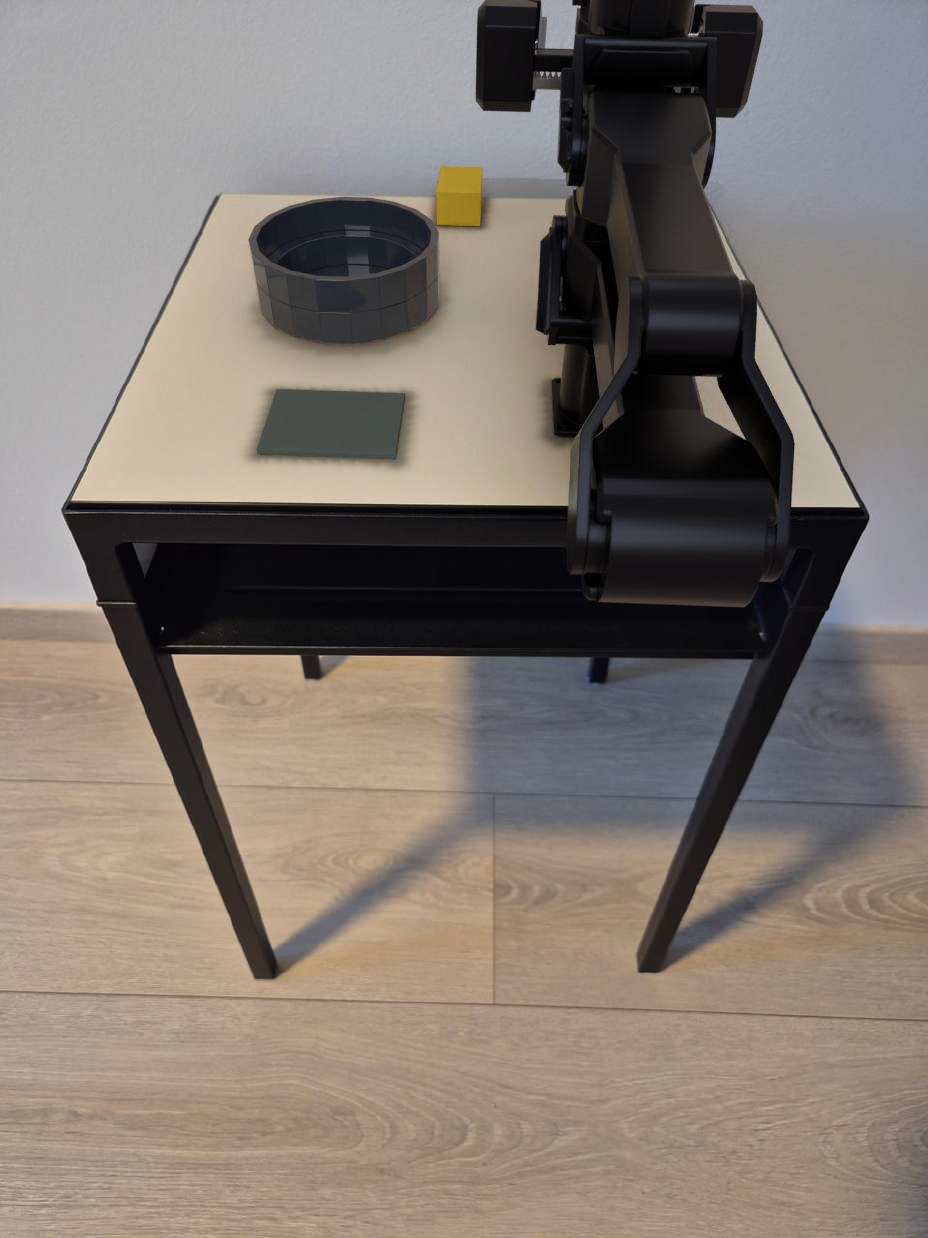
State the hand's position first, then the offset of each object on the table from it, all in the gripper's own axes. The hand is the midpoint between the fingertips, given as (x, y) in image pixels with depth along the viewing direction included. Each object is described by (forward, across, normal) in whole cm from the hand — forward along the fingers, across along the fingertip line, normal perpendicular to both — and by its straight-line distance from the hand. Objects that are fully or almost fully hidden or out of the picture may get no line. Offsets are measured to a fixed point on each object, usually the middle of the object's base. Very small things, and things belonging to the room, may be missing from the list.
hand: (604, 26), depth 64 cm
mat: (-28, +18, +17) cm, 37 cm away
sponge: (+7, +11, +17) cm, 21 cm away
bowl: (-11, +19, +17) cm, 28 cm away
